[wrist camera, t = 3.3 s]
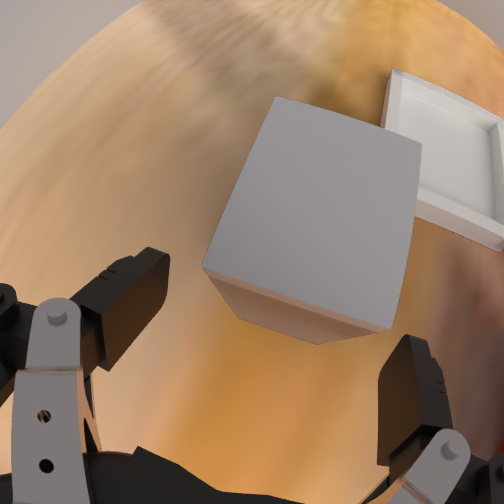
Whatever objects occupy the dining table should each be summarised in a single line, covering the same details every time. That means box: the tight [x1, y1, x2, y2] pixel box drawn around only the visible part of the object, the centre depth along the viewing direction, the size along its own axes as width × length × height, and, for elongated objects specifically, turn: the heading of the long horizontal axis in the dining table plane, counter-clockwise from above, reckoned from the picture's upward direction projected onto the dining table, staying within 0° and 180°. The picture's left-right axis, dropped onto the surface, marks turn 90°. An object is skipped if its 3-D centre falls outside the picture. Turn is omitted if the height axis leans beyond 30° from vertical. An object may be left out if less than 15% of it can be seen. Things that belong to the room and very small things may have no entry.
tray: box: [380, 68, 504, 252], centre depth 21 cm, size 12×13×2 cm
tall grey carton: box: [201, 96, 422, 345], centre depth 14 cm, size 5×6×12 cm
